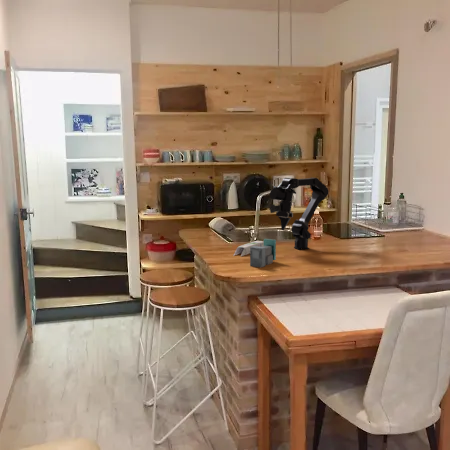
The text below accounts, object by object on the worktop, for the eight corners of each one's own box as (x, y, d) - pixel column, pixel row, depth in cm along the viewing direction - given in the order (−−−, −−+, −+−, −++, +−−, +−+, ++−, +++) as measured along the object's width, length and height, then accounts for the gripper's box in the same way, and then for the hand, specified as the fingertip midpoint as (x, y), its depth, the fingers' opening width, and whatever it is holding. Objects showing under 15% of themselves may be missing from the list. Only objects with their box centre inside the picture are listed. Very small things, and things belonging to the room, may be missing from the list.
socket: (254, 264, 242) (254, 246, 241) (265, 265, 239) (265, 247, 237) (250, 265, 239) (250, 247, 237) (261, 267, 235) (261, 248, 234)
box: (263, 249, 280) (237, 258, 257) (256, 248, 283) (230, 257, 259) (263, 241, 280) (237, 250, 256) (256, 240, 282) (230, 249, 259)
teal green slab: (265, 258, 250) (265, 238, 249) (275, 259, 247) (275, 239, 246) (251, 263, 240) (251, 242, 238) (262, 264, 236) (262, 244, 235)
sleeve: (262, 261, 249) (262, 245, 247) (273, 262, 245) (273, 246, 244) (256, 263, 244) (256, 247, 242) (267, 265, 240) (267, 248, 239)
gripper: (275, 199, 279) (271, 227, 280) (268, 198, 261) (264, 228, 262) (294, 202, 276) (291, 230, 277) (289, 201, 258) (285, 231, 259)
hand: (282, 230), depth 269 cm, fingers closed
